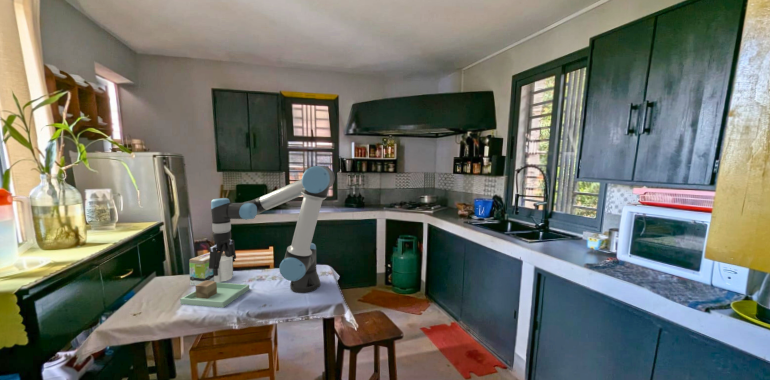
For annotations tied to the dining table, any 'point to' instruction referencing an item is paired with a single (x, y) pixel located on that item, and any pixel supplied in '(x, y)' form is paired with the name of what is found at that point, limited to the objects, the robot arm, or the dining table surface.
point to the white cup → (226, 268)
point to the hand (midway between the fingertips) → (223, 278)
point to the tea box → (200, 269)
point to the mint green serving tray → (217, 295)
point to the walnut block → (206, 289)
